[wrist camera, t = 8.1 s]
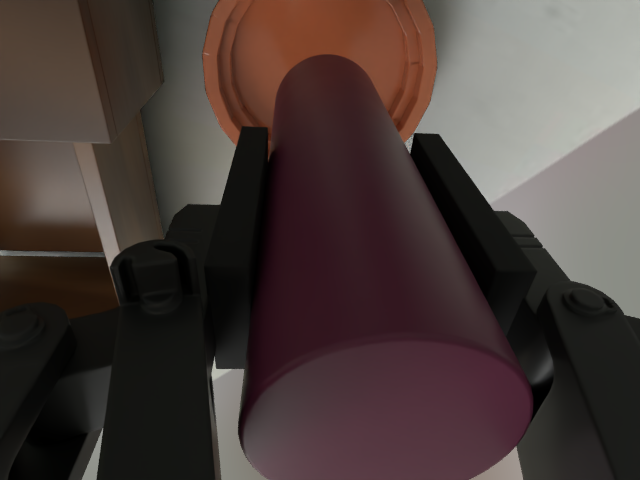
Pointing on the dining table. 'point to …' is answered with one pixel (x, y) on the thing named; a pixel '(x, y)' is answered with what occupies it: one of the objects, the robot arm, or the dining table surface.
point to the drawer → (73, 217)
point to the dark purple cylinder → (366, 306)
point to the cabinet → (75, 68)
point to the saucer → (316, 39)
